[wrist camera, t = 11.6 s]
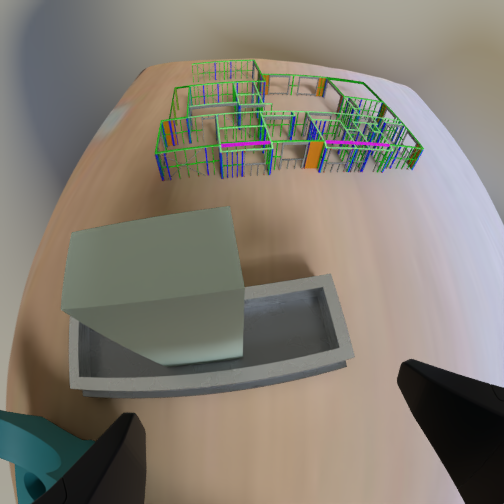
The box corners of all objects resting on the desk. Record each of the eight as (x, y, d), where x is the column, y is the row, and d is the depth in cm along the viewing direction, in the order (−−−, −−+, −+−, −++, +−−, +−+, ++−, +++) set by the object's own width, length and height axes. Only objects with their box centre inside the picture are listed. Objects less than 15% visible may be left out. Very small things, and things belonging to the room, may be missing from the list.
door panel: (236, 321, 21) (229, 205, 9) (242, 357, 20) (244, 288, 8) (162, 330, 20) (71, 232, 8) (166, 366, 19) (60, 309, 7)
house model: (162, 188, 30) (153, 158, 26) (176, 86, 45) (173, 66, 41) (413, 175, 34) (427, 152, 30) (342, 84, 49) (346, 66, 45)
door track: (319, 283, 24) (329, 268, 22) (341, 368, 20) (356, 363, 18) (87, 313, 22) (71, 301, 19) (89, 396, 18) (70, 394, 15)
